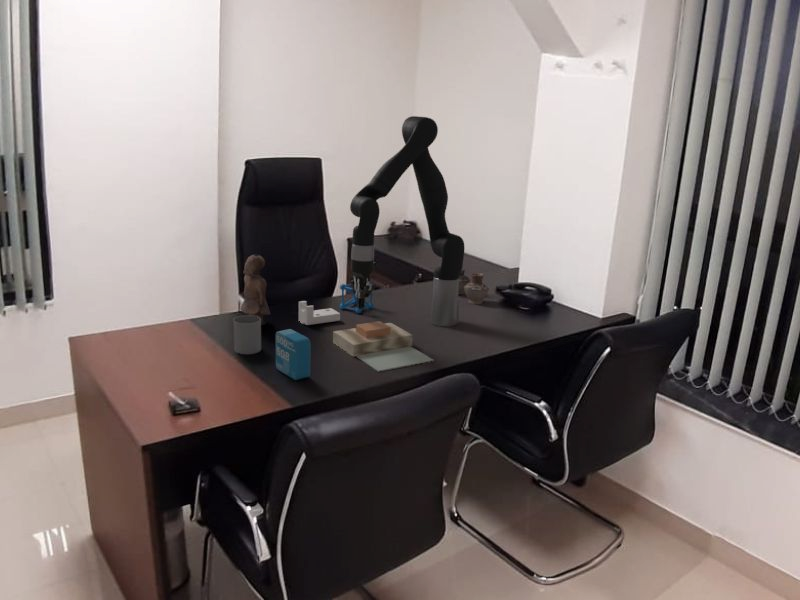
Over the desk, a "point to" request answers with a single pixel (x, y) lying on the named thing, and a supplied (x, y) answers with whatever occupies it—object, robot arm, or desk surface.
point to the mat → (394, 358)
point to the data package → (293, 354)
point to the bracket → (316, 314)
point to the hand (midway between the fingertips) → (360, 308)
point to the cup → (247, 334)
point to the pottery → (472, 287)
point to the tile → (373, 329)
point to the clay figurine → (254, 289)
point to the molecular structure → (353, 300)
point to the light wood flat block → (371, 341)
